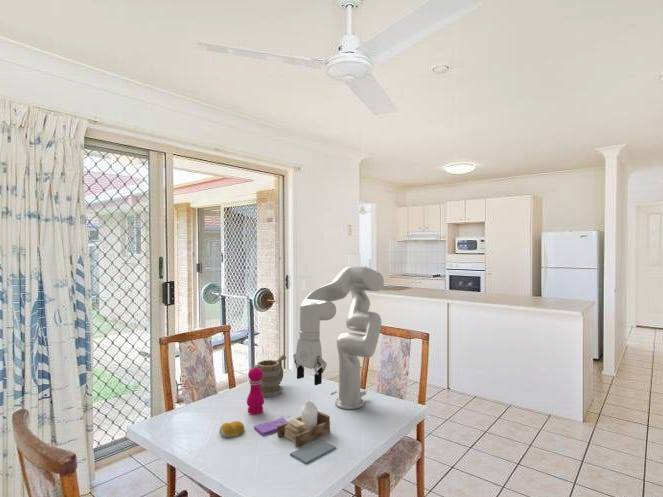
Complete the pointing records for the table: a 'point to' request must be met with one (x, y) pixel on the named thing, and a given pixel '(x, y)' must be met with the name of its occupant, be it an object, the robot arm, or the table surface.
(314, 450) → the mat
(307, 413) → the white tall rounded lump
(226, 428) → the bread roll
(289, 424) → the offcut stack
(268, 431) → the sponges
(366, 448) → the table surface
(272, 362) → the mortar and pestle
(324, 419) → the rack
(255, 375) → the pepper mill
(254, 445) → the table surface
